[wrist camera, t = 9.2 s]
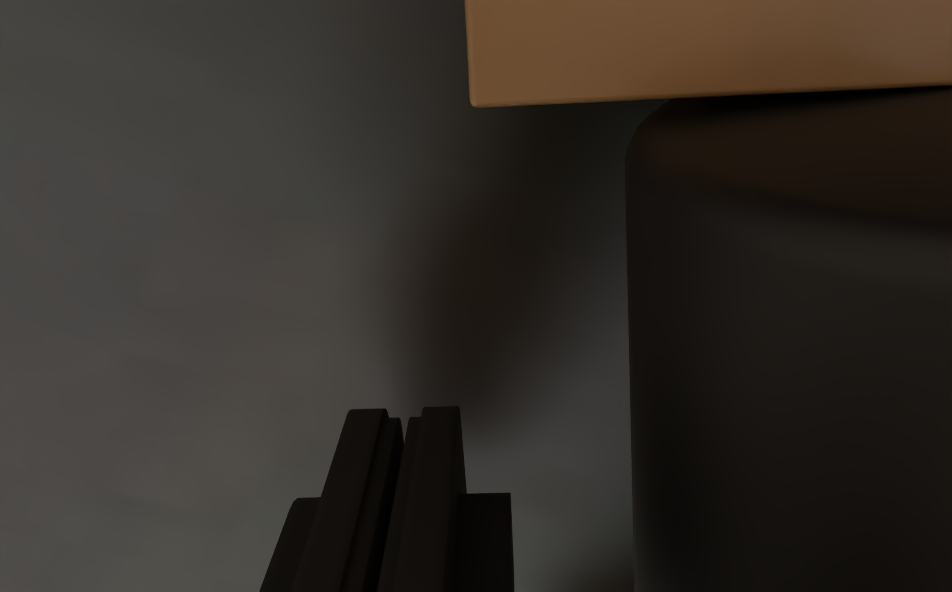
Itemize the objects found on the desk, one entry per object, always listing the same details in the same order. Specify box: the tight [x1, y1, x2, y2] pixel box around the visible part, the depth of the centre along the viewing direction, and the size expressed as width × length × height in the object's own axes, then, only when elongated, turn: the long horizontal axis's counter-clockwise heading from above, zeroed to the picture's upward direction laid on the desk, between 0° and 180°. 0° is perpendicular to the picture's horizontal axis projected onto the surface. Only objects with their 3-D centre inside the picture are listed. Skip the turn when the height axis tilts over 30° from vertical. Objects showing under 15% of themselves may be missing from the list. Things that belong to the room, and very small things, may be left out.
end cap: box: [625, 86, 952, 592], centre depth 8 cm, size 10×7×7 cm
